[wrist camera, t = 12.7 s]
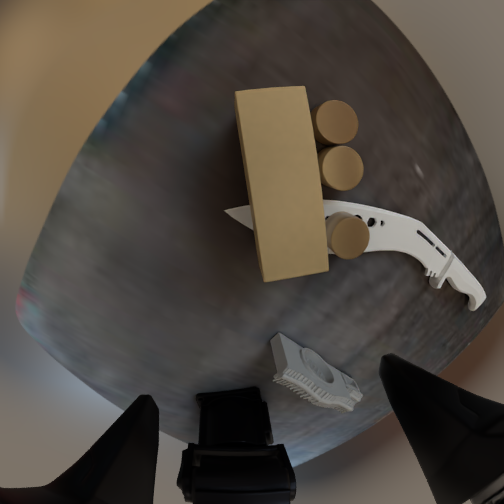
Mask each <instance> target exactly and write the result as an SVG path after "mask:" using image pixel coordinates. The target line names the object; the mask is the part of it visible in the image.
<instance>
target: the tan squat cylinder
mask: <svg viewBox="0 0 504 504" xmlns="http://www.w3.org/2000/svg"><path fill="white" fill-rule="evenodd" d="M325 226H326V238H327V247H328V248H329V249H330V250H331V251H333V252H334V253H335V254H336V255H337V256H338V257H340V258H342V259H354V258H356V257H358V256H360V255H361V254H362V253H363V252H364V251H365V249H366V248H367V246H368V243H369V239H370V233H369V229H368V226H367V224H366V223H365V222H364V221H363V220H362V219H360V218H358V217H356V216H354V215H352V214H350V213H348V212H344V211H341V212H336V213H334V214H332V215H331V216H329V217H328V218H327V220H326V221H325Z"/></svg>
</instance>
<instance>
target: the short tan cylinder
mask: <svg viewBox="0 0 504 504" xmlns="http://www.w3.org/2000/svg"><path fill="white" fill-rule="evenodd" d="M317 158H318V165H319V173H320V180H321V183H322V184H323V185H325V186H327V187H330V188H333V189H336V190H340V191H347V190H350V189H352V188H354V187H355V186H356V185H357V184H358V183H359V182H360V180H361V178H362V175H363V163H362V160H361V158H360V156H359V155H358V153H357V152H356V151H355V150H353V149H352V148H350V147H347V146H331V147H326V148H324V149H322V150H321V151H320V152H319V153H318V154H317Z"/></svg>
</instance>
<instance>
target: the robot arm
mask: <svg viewBox="0 0 504 504" xmlns="http://www.w3.org/2000/svg"><path fill="white" fill-rule="evenodd" d="M379 375H380V378H381V381H382V383H383V386H384V388H385V391H386V394H387V396H388V399H389V402H390V404H391V406H392V409H393V411H394V412H395V414H396V416H397V418H398V420H399V422H400V424H401V426H402V428H403V430H404V432H405V434H406V436H407V439H408V441H409V443H410V445H411V447H412V449H413V451H414V453H415V455H416V457H417V459H418V462H419V464H420V466H421V468H422V470H423V473H424V475H425V477H426V479H427V482H428V484H429V486H430V489H431V491H432V493H433V496H434V498H435V501H436V503H437V504H462V503H464V502H466V501H467V500H469V499H470V501H471V503H472V504H504V404H501V403H498V402H495V401H492V400H489V399H486V398H483V397H481V396H478V395H475V394H473V393H471V392H469V391H466V390H464V389H462V388H460V387H458V386H456V385H454V384H452V383H450V382H448V381H446V380H444V379H442V378H440V377H438V376H436V375H434V374H432V373H430V372H428V371H426V370H424V369H422V368H420V367H418V366H416V365H414V364H412V363H410V362H408V361H406V360H404V359H402V358H400V357H399V356H397V355H395V354H392V353H390V354H387V355H384V356H382V358H381V363H380V367H379ZM196 401H197V403H198V405H199V407H200V409H201V410H200V425H199V443H198V444H194V443H188V448H187V449H186V450H183V451H182V461H181V467H180V471H179V474H178V478H177V486H178V487H179V488H180V489H181V490H182V493H183V495H184V498H185V501H186V502H193V504H290V501H293V500H294V498H295V495H296V479H295V474H294V471H293V468H292V466H291V463H290V460H289V458H288V455H287V452H286V450H285V447H284V444H277V445H270V444H272V443H273V442H274V441H273V435H272V429H271V423H270V417H269V412H268V406H267V402H265V401H263V402H262V399H261V394H260V389H259V388H256V387H254V388H247V389H239V390H231V391H222V392H212V393H200V394H197V395H196ZM268 445H269V446H268ZM158 446H159V409H158V406H157V405H156V403H155V401H154V400H153V398H152V396H151V395H140V396H139V397H138V398H137V399H136V400H135V401H134V402H133V403H132V404H131V405H130V406H129V407H128V408H127V409H126V410H125V412H124V413H123V414H122V415H121V416H120V417H119V418H118V419H117V420H116V421H115V422H114V423H113V424H112V425H111V427H110V428H109V429H108V430H107V431H106V432H105V433H104V434H103V435H102V436H101V437H100V438H99V439H98V440H97V441H96V442H95V443H94V445H93V446H92V447H91V448H90V449H89V450H88V451H87V452H86V453H85V454H84V455H83V456H82V457H81V458H80V459H79V460H78V461H77V462H76V463H74V464H73V465H72V466H71V467H70V468H69V469H67V470H66V471H65V472H64V473H62V474H61V475H60V476H59V477H57V478H56V479H55V480H54V481H52V482H51V483H49V484H47V485H45V486H41V487H30V488H29V487H28V488H1V487H0V504H153V496H154V484H155V473H156V464H157V455H158Z"/></svg>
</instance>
